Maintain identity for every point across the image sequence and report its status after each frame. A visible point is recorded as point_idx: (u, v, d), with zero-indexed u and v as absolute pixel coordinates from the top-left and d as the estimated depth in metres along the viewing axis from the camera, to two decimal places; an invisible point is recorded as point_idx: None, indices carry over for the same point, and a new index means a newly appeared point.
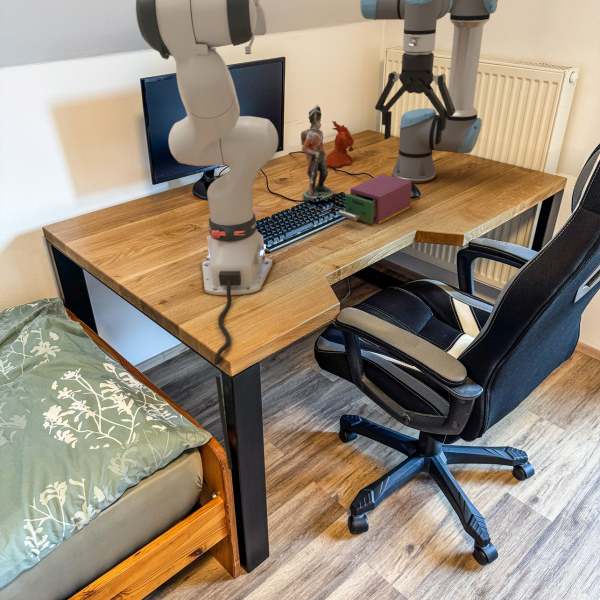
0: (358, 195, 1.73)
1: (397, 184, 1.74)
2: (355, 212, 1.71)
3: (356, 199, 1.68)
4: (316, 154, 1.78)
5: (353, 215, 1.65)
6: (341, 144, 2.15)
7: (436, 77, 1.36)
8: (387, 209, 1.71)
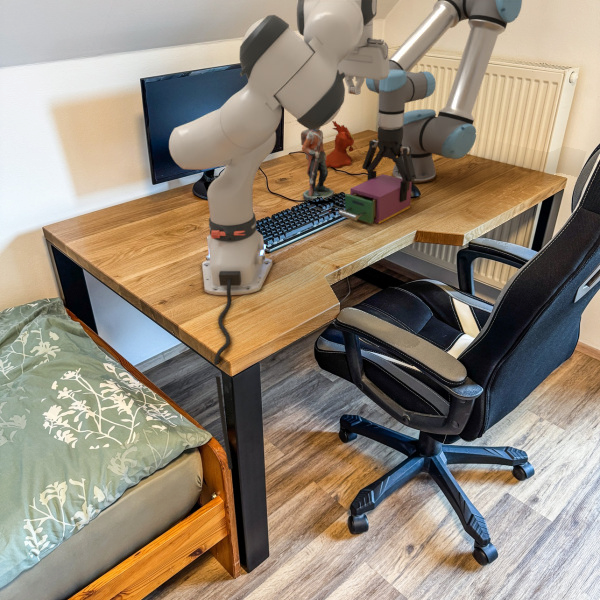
0: (358, 195, 1.73)
1: (397, 184, 1.74)
2: (355, 212, 1.71)
3: (356, 199, 1.68)
4: (316, 154, 1.78)
5: (353, 215, 1.65)
6: (341, 144, 2.15)
7: None
8: (387, 209, 1.71)
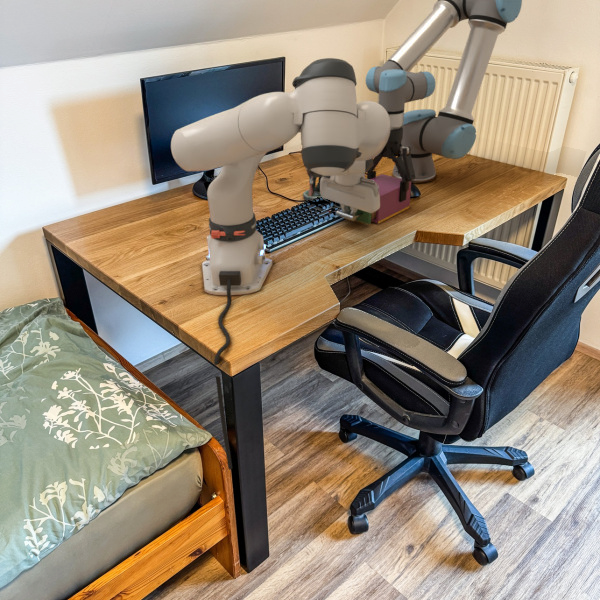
0: None
1: (397, 184, 1.73)
2: None
3: None
4: None
5: (350, 216, 1.64)
6: None
7: None
8: (386, 209, 1.71)
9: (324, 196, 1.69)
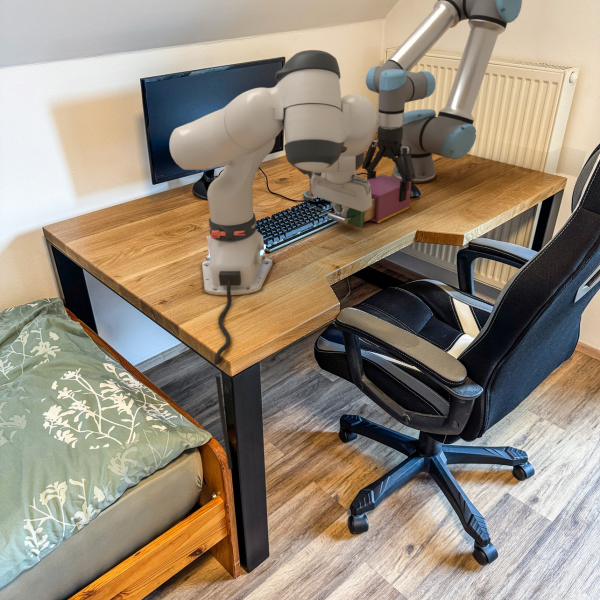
0: None
1: (397, 184, 1.73)
2: None
3: None
4: None
5: (342, 218, 1.62)
6: None
7: None
8: (386, 208, 1.70)
9: (315, 194, 1.66)
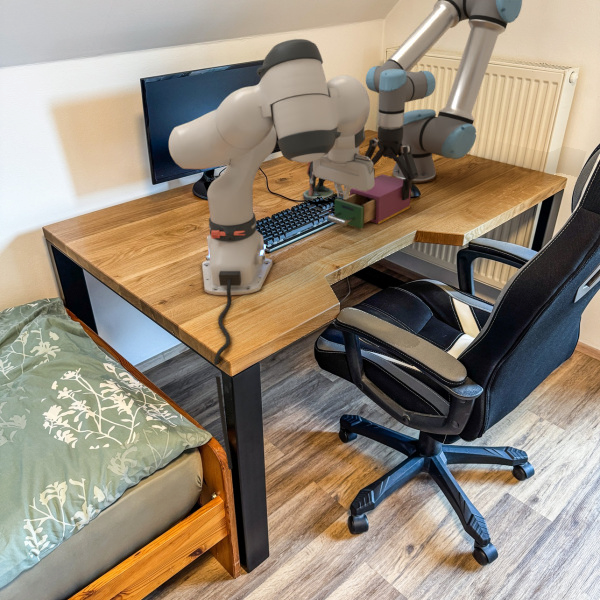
0: (348, 200, 1.70)
1: (397, 184, 1.73)
2: (345, 217, 1.68)
3: (345, 204, 1.65)
4: None
5: (342, 220, 1.62)
6: None
7: None
8: (387, 209, 1.71)
9: (317, 175, 1.63)
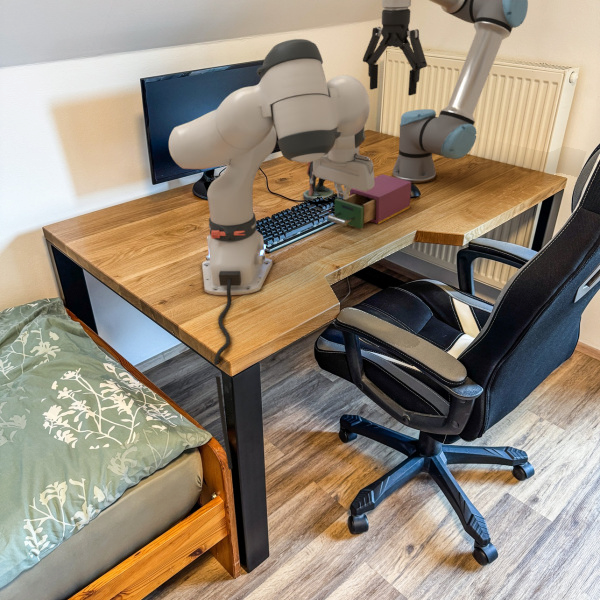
0: (348, 200, 1.70)
1: (397, 184, 1.73)
2: (345, 217, 1.68)
3: (345, 204, 1.65)
4: None
5: (342, 220, 1.62)
6: None
7: None
8: (387, 209, 1.71)
9: (317, 175, 1.63)
